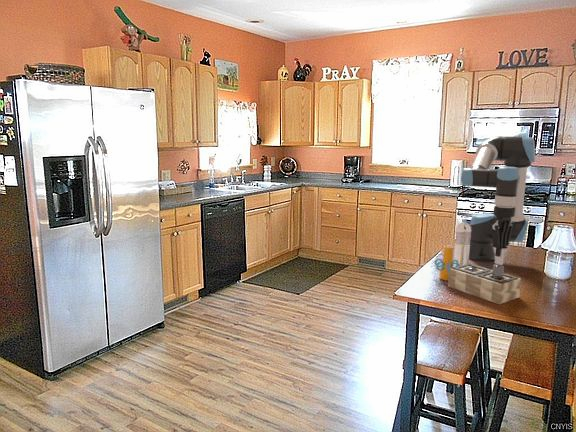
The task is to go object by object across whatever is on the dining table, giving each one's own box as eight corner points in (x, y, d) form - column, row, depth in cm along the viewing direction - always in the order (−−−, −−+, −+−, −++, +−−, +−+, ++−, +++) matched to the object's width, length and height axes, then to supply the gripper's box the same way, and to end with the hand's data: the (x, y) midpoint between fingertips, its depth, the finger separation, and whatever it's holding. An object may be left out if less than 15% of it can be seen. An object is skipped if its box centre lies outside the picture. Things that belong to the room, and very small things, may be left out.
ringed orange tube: (460, 283, 200) (463, 251, 197) (435, 282, 202) (438, 249, 199) (456, 275, 212) (458, 244, 209) (432, 273, 214) (435, 242, 211)
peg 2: (495, 282, 188) (496, 263, 186) (504, 285, 185) (506, 266, 183) (489, 283, 186) (491, 265, 184) (498, 286, 182) (500, 267, 181)
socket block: (467, 280, 205) (469, 262, 203) (519, 297, 185) (521, 277, 183) (447, 286, 197) (449, 267, 196) (499, 304, 178) (501, 283, 176)
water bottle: (463, 272, 216) (467, 221, 211) (450, 269, 221) (454, 219, 216) (470, 269, 220) (475, 219, 215) (457, 266, 225) (461, 217, 220)
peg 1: (468, 283, 199) (470, 266, 197) (476, 286, 195) (478, 268, 194) (463, 285, 196) (464, 267, 195) (471, 288, 193) (472, 270, 192)
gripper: (505, 203, 185) (499, 259, 190) (486, 206, 178) (480, 263, 183) (523, 206, 179) (516, 263, 184) (504, 209, 172) (497, 268, 177)
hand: (498, 263), depth 183 cm, fingers closed
